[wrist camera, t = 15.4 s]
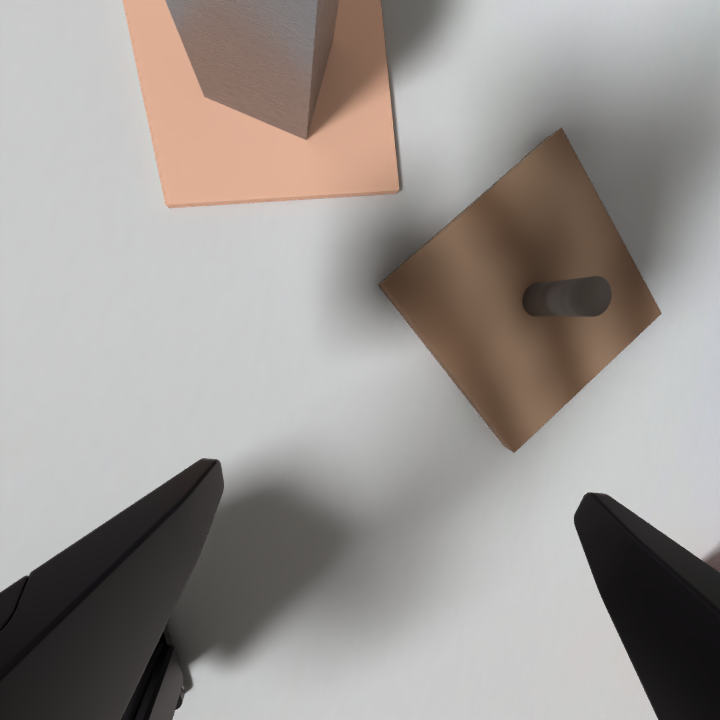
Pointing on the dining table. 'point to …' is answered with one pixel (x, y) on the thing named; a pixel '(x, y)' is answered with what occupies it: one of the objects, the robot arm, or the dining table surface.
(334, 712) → the dining table surface
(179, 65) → the rubber mat
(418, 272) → the post base
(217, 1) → the steel sleeve
